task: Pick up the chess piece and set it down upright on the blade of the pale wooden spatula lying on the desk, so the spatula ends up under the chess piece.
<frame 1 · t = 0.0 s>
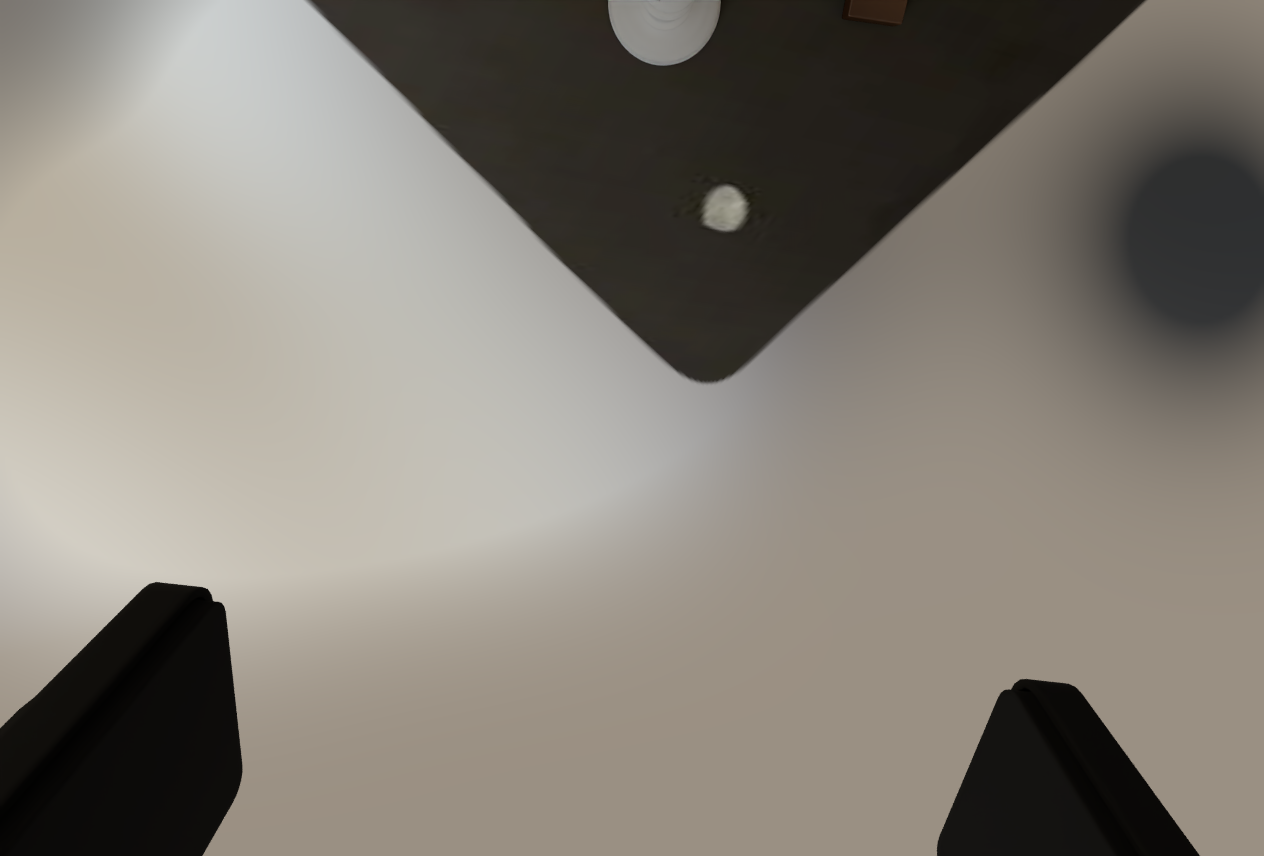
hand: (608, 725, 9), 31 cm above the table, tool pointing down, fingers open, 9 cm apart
chess piece: (664, 3, 34), on the table
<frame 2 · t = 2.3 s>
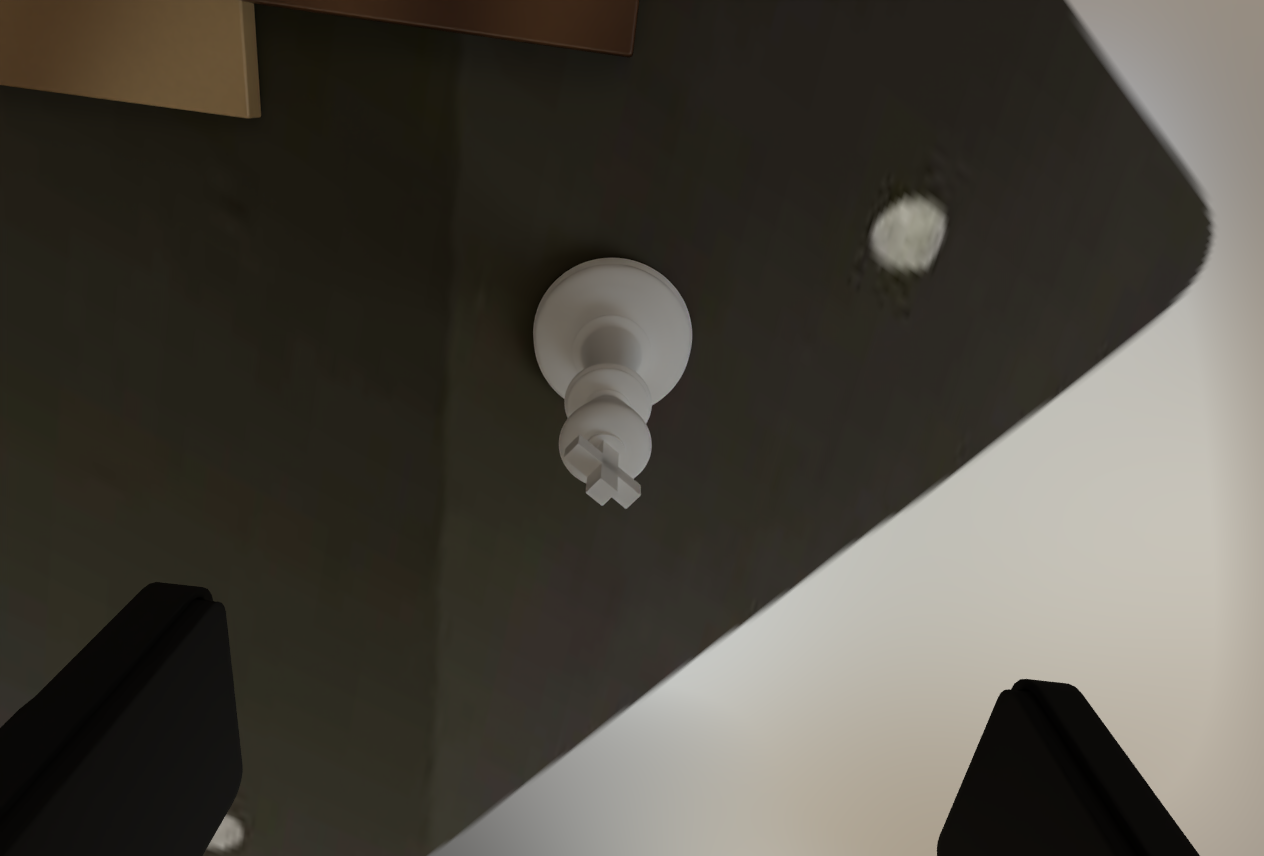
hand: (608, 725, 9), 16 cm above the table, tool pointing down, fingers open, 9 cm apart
chess piece: (612, 334, 24), on the table
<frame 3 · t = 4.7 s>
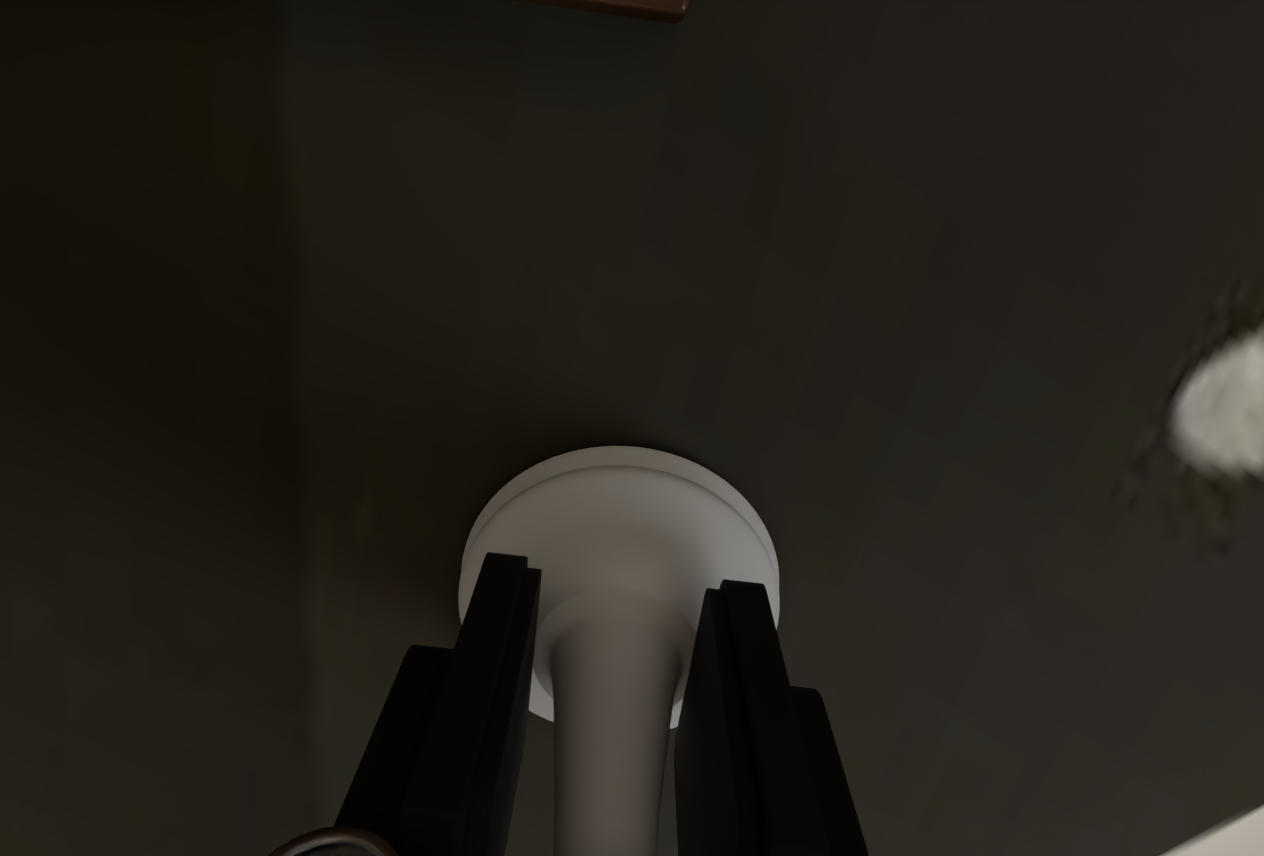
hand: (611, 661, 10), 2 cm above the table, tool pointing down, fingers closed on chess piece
chess piece: (620, 579, 12), on the table, touching gripper
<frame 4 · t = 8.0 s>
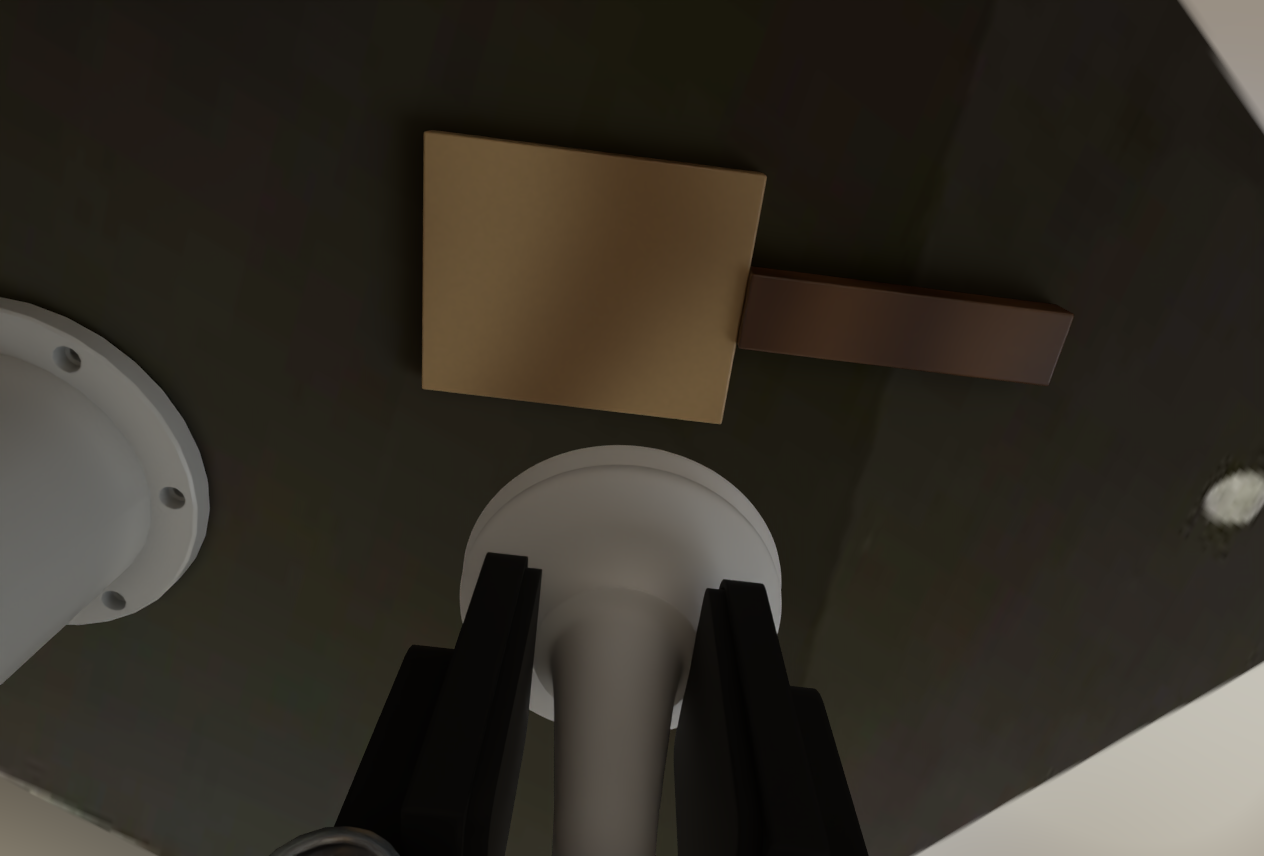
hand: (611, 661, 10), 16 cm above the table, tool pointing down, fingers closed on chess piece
chess piece: (622, 578, 12), point 14 cm above the table, touching gripper
spatula: (740, 302, 24), on the table
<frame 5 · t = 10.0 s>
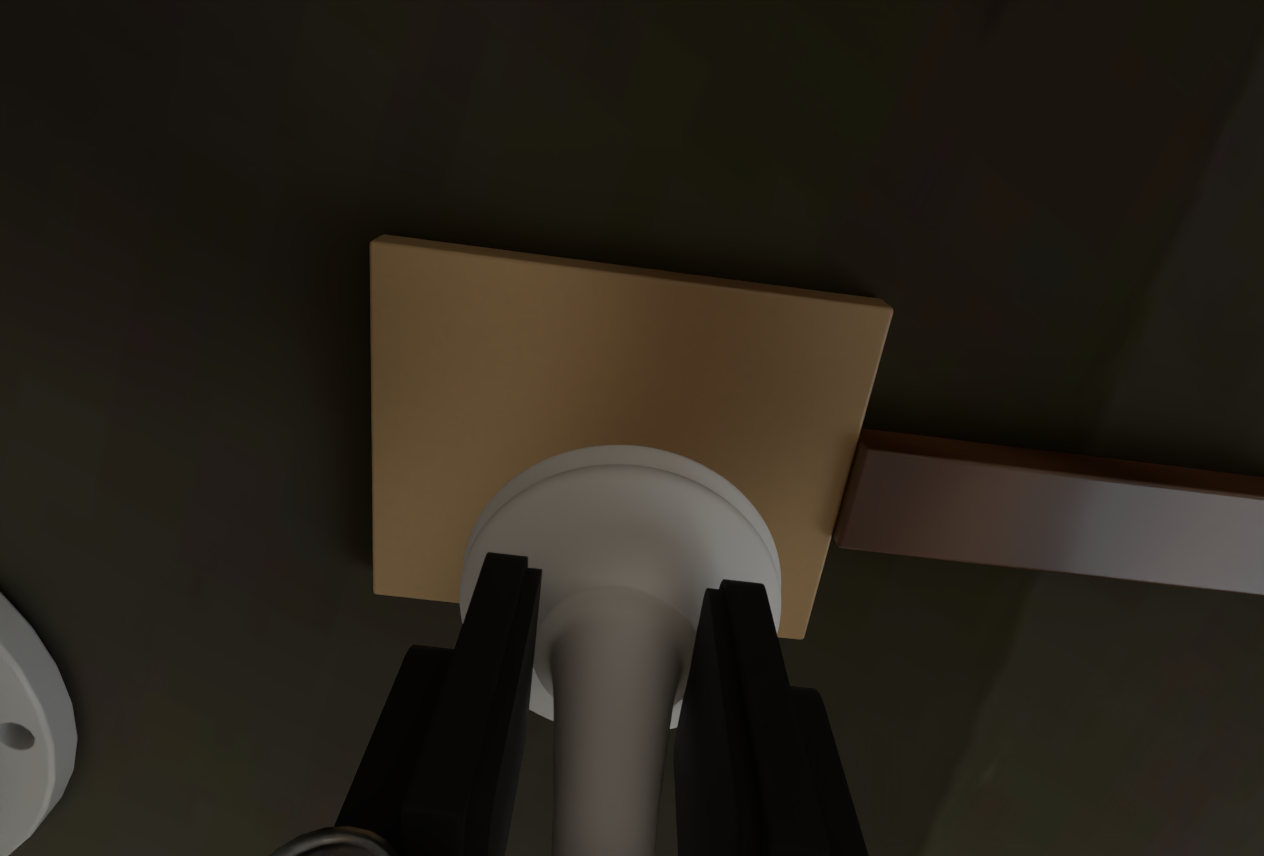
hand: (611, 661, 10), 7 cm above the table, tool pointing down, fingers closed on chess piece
chess piece: (621, 578, 12), point 5 cm above the table, touching gripper
spatula: (836, 474, 17), on the table
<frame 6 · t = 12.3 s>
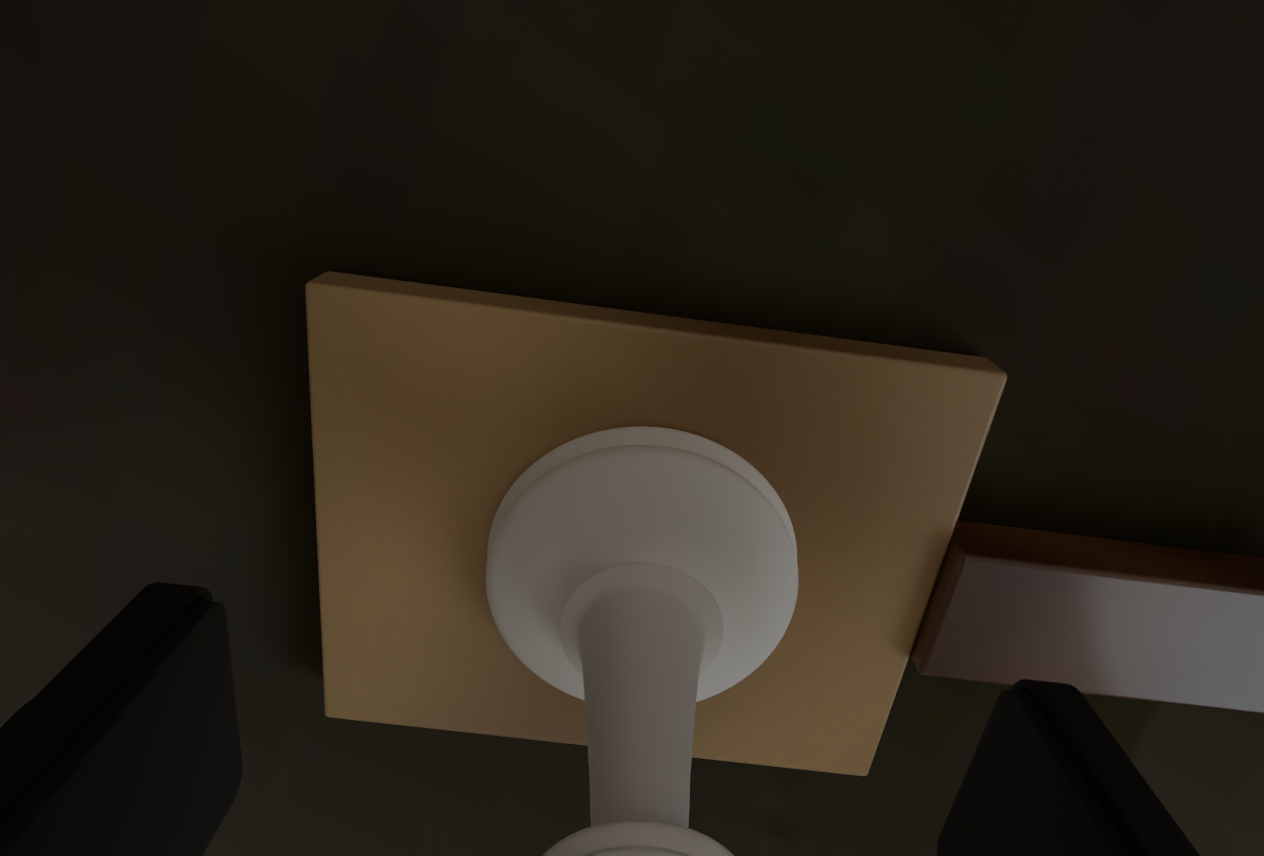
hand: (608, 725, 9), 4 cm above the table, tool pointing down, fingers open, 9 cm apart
chess piece: (641, 558, 12), point 1 cm above the table, touching spatula
spatula: (914, 574, 13), on the table, touching chess piece
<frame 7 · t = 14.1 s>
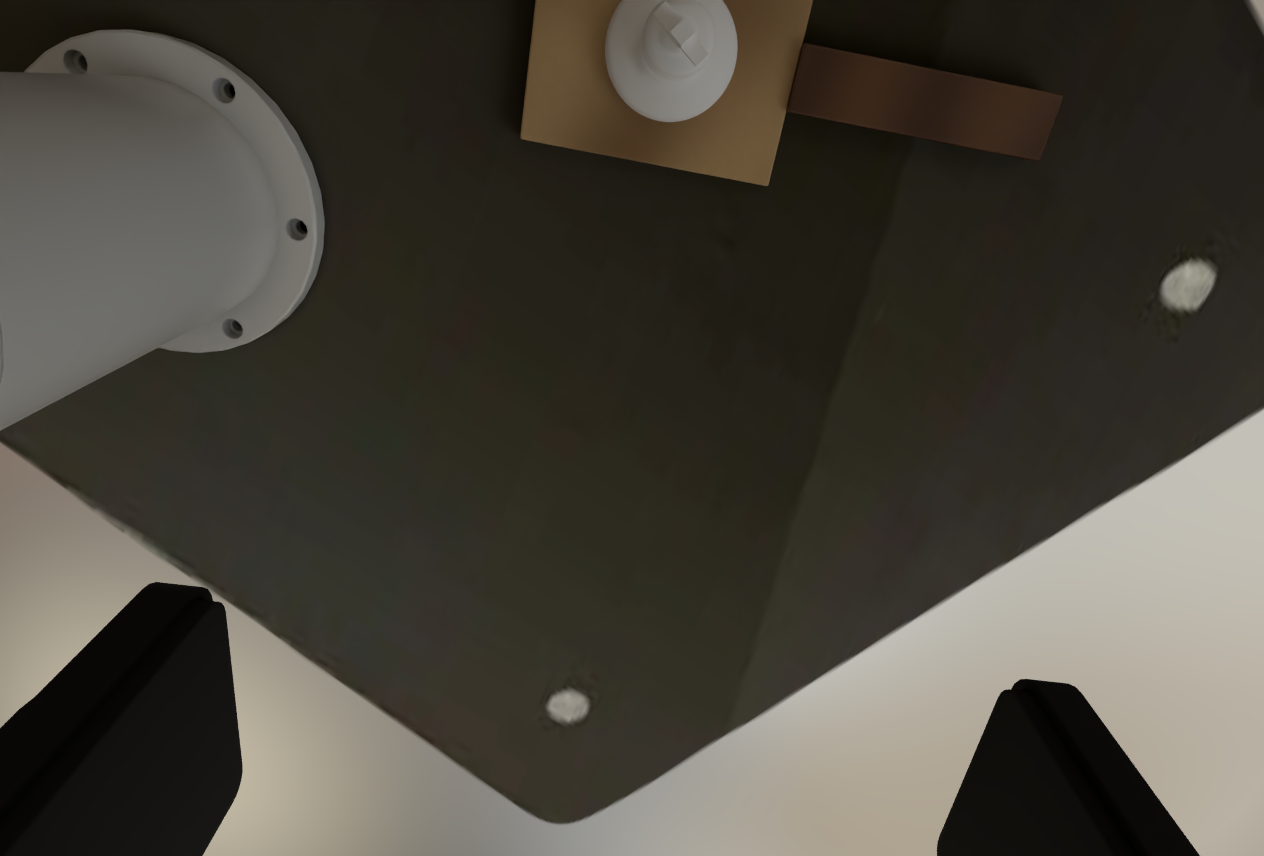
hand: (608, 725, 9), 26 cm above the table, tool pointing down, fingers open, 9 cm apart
chess piece: (670, 51, 29), point 1 cm above the table, touching spatula
spatula: (791, 78, 30), on the table, touching chess piece
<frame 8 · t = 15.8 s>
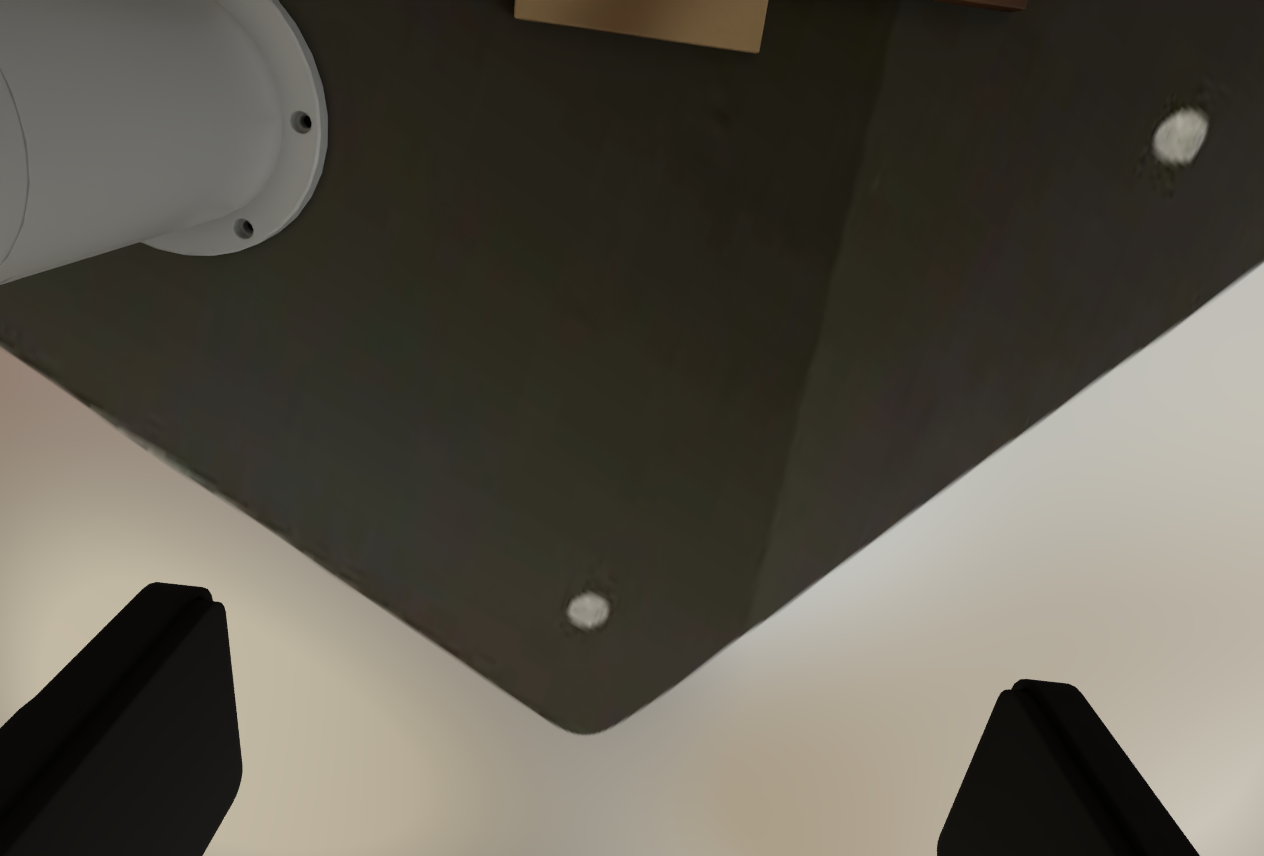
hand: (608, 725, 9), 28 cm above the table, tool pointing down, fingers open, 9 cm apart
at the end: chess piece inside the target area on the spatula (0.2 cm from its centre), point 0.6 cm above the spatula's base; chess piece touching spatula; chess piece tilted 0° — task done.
